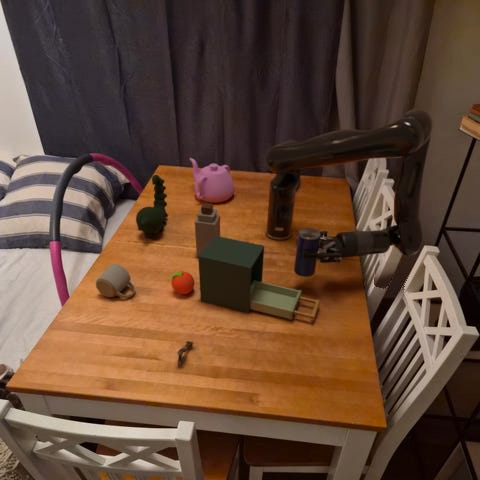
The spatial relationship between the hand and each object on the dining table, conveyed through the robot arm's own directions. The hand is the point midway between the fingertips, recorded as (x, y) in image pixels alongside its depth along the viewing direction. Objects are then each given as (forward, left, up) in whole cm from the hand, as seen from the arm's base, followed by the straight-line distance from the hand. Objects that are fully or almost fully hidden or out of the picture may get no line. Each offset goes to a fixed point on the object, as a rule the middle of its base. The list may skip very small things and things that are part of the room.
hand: (300, 248), depth 118 cm
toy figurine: (-16, -59, -15) cm, 63 cm away
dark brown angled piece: (+39, -19, -15) cm, 46 cm away
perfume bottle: (-8, -33, -15) cm, 37 cm away
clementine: (+15, -32, -15) cm, 38 cm away
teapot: (-51, -51, -15) cm, 74 cm away
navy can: (-1, +2, -8) cm, 8 cm away
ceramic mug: (+22, -50, -15) cm, 57 cm away
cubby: (+11, -17, -14) cm, 25 cm away
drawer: (+11, -1, -13) cm, 17 cm away
